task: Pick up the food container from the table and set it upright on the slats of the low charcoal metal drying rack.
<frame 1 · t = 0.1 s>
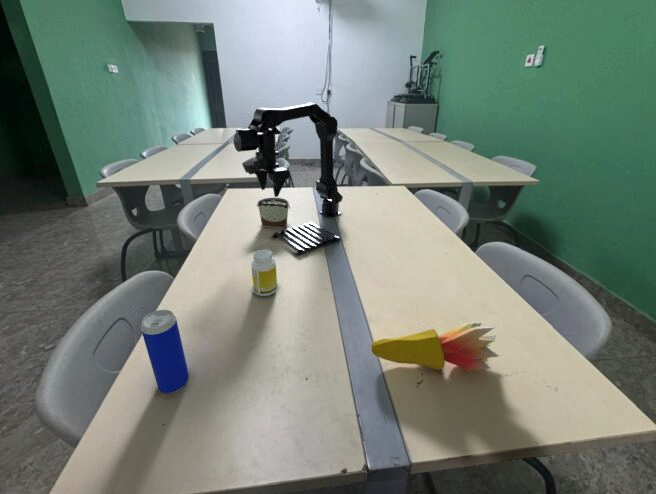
hand: (269, 193, 111), 15 cm above the table, tool pointing down, fingers open, 9 cm apart
food container: (276, 224, 123), on the table
drying rack: (305, 238, 112), on the table
beverage can: (174, 383, 58), on the table
pill bottle: (265, 290, 85), on the table
torch: (431, 360, 65), on the table
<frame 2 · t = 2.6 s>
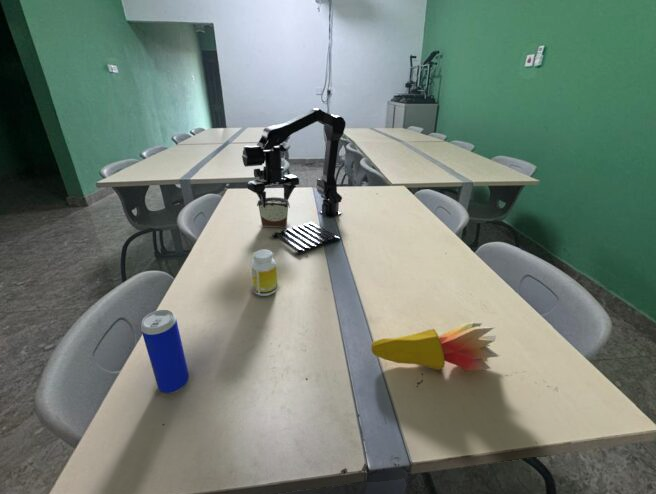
hand: (275, 205, 119), 8 cm above the table, tool pointing down, fingers open, 9 cm apart
food container: (276, 224, 123), on the table, touching gripper
everything else where it was.
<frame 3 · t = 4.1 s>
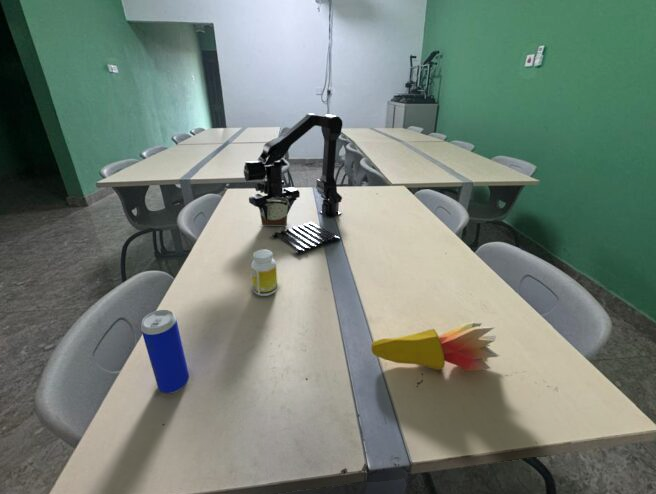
hand: (276, 217, 122), 3 cm above the table, tool pointing down
food container: (276, 224, 123), on the table, touching gripper
everything else where it was.
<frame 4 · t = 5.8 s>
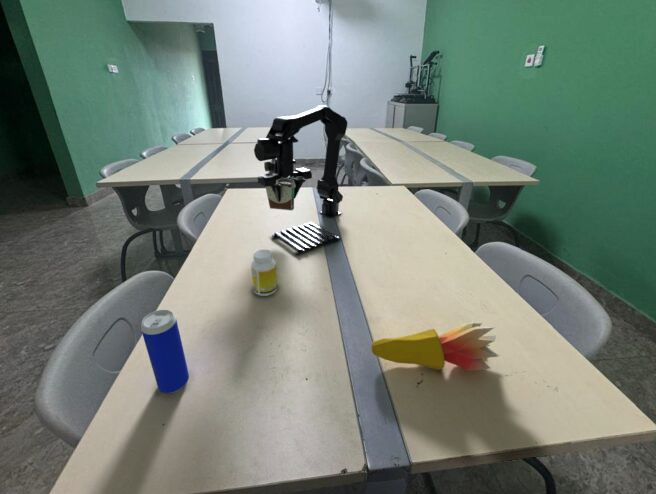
hand: (286, 199, 114), 12 cm above the table, tool pointing down, fingers closed on food container, 6 cm apart
food container: (285, 207, 116), point 9 cm above the table, touching gripper
everything else where it was.
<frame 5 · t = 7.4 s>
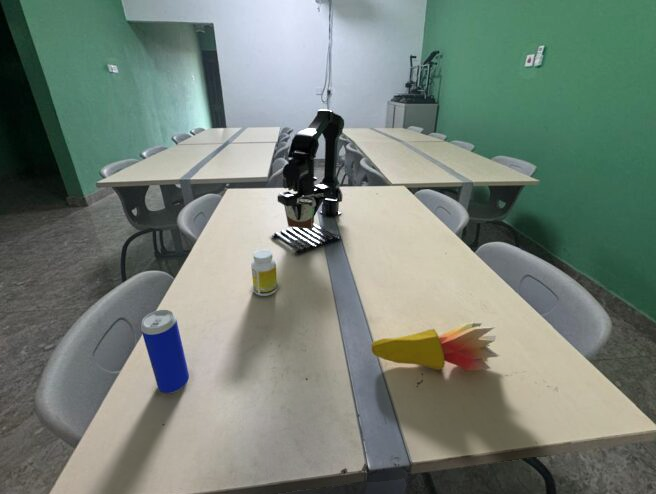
hand: (305, 217, 109), 8 cm above the table, tool pointing down, fingers closed on food container, 6 cm apart
food container: (304, 225, 111), point 5 cm above the table, touching gripper
everything else where it was.
when the fingers open (5 cm above the table, at t = 8.5 s): food container stays where it is, resting on drying rack.
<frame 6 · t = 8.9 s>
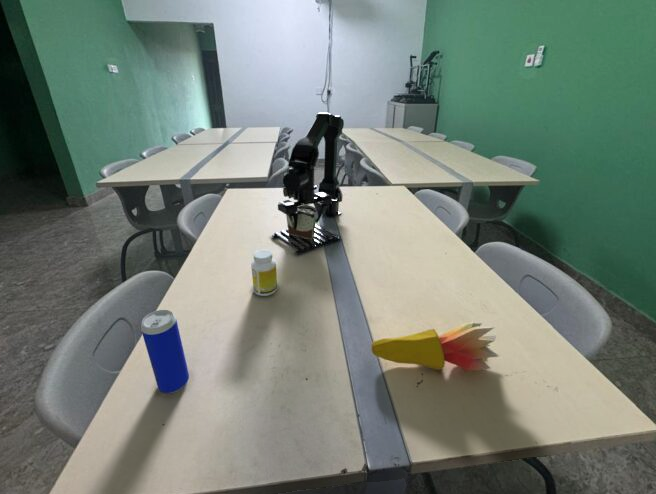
hand: (305, 225, 110), 5 cm above the table, tool pointing down, fingers open, 9 cm apart
food container: (304, 234, 113), point 1 cm above the table, touching drying rack
everything else where it was.
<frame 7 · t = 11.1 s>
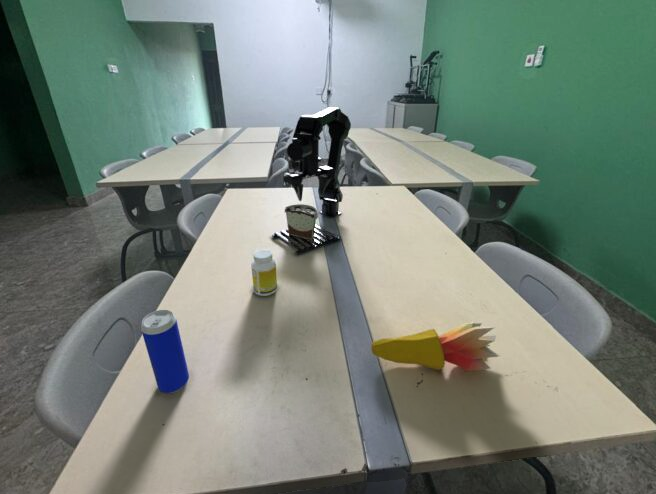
hand: (310, 198, 114), 13 cm above the table, tool pointing down, fingers open, 9 cm apart
nothing on the table moved.
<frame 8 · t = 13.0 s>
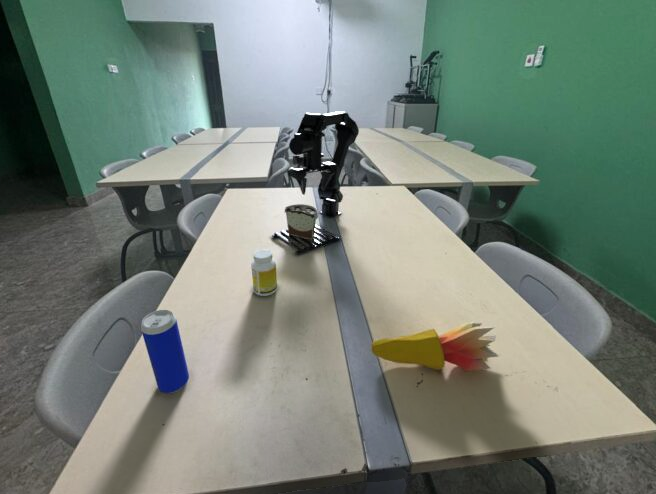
hand: (313, 192, 119), 13 cm above the table, tool pointing down, fingers open, 9 cm apart
nothing on the table moved.
at the end: food container inside the target area on the drying rack (1.0 cm from its centre), point 1.4 cm above the drying rack's base; food container tilted 0°; the gripper is holding nothing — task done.
